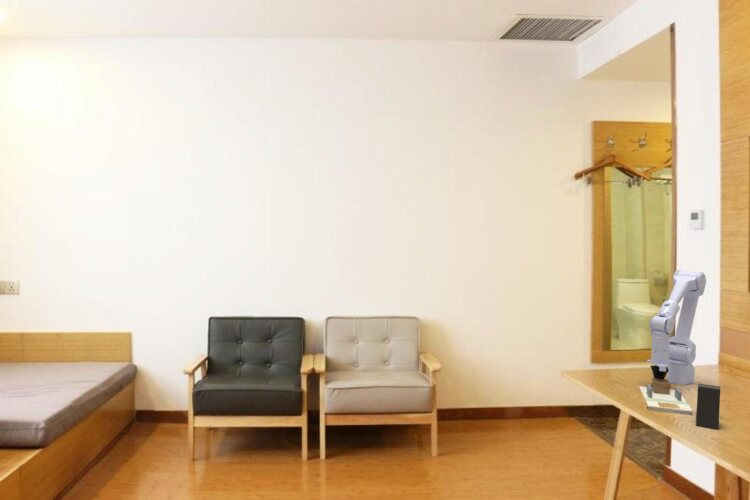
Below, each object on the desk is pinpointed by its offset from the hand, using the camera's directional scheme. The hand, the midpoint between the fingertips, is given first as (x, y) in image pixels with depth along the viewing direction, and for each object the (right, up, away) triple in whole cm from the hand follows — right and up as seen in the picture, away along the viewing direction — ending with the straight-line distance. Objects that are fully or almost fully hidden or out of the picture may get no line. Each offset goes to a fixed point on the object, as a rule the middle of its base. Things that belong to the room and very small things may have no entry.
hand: (658, 386), depth 211 cm
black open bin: (-1, -4, -32) cm, 32 cm away
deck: (-4, -3, -11) cm, 12 cm away
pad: (-5, -3, -15) cm, 16 cm away
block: (-2, -1, -5) cm, 5 cm away
